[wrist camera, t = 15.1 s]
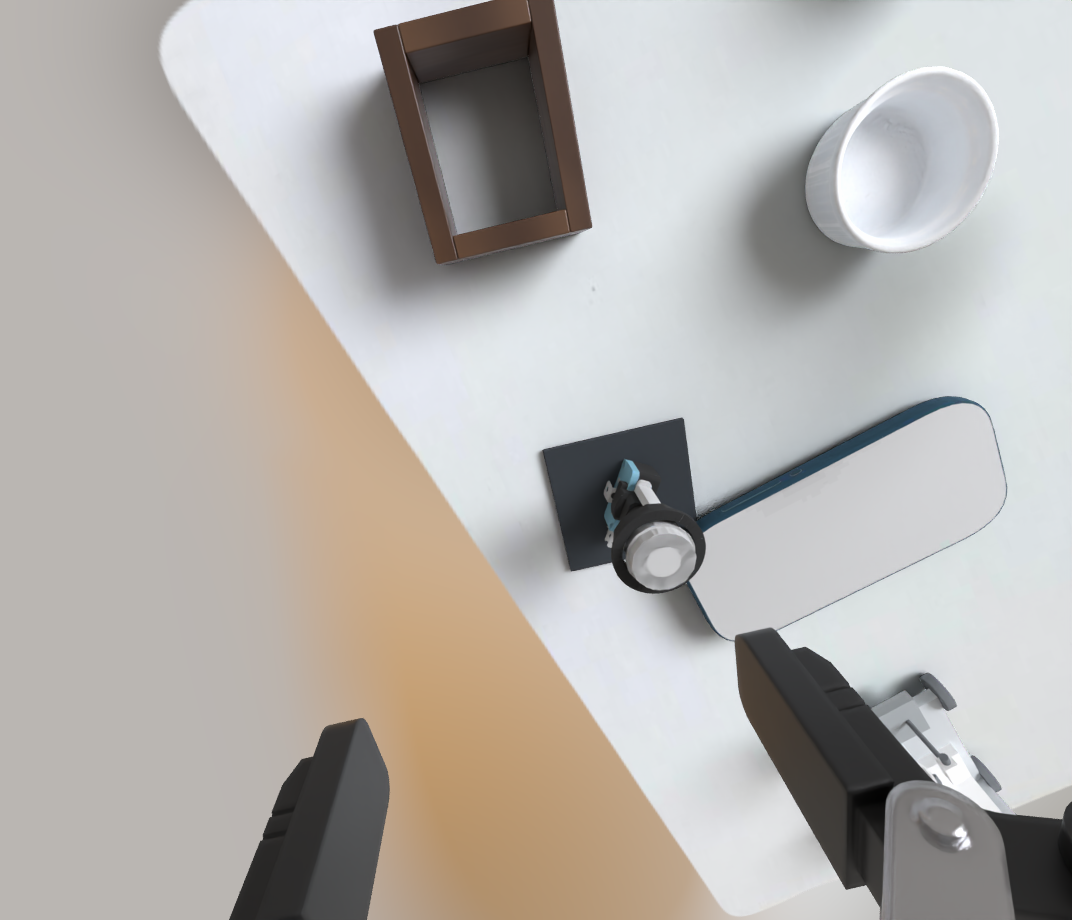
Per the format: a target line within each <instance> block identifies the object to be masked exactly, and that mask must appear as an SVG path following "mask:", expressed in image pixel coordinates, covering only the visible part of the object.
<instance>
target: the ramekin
mask: <svg viewBox="0 0 1072 920" xmlns="http://www.w3.org/2000/svg"><path fill="white" fill-rule="evenodd" d="M998 141H999V134H998V123H997V119H996V115H995V111H994V108H993V106H992V103H991V101H990V99H989V97H988V96H987V94H986V93H985V91H984V90H983V89H982V87H981V86H980V85H979V84H978V83H977V82H976V81H975V80H973V79H972V78H971V77H969V76H968V75H966V74H964V73H962V72H960V71H957V70H955V69H951V68H948V67H937V66H935V67H923V68H918V69H914V70H911V71H908V72H905V73H903V74H901V75H899V76H897V77H895V78H893V79H891V80H890V81H888V82H887V83H885V84H884V85H882V86H881V87H880V88H878V89H877V90H876V91H875V92H874V93H873V94H871V95H870V96H869V97H868V98H867V99H865V100H864V101H862V102H860V103H859V104H857V105H856V106H854V107H853V108H851V109H850V110H848V111H847V112H845V113H844V114H843V115H842V116H841V117H840V118H838V119H837V120H836V121H835V122H834V123H833V124H832V126H831V127H830V128H829V129H828V130H827V131H826V133H825V134H824V135H823V137H822V138H821V140H820V141H819V143H818V145H817V147H816V148H815V150H814V153H813V155H812V157H811V160H810V162H809V166H808V169H807V175H806V184H805V191H806V201H807V206H808V209H809V212H810V215H811V217H812V219H813V221H814V222H815V224H816V225H817V227H818V228H819V229H820V231H822V232H823V233H824V234H825V235H826V236H827V237H829V238H830V239H831V240H833V241H835V242H838V243H840V244H842V245H846V246H850V247H858V248H868V249H871V250H873V251H877V252H883V253H906V252H911V251H915V250H919V249H922V248H924V247H927V246H929V245H931V244H933V243H935V242H937V241H939V240H940V239H942V238H944V237H945V236H947V235H948V234H950V233H951V232H952V231H953V230H954V229H955V228H957V227H958V226H959V225H960V224H961V223H962V222H963V221H964V220H965V219H966V218H967V217H968V215H969V214H970V213H971V212H972V211H973V209H974V208H975V206H976V205H977V203H978V202H979V201H980V199H981V197H982V195H983V194H984V192H985V190H986V188H987V186H988V184H989V181H990V179H991V176H992V174H993V171H994V166H995V163H996V159H997V152H998Z"/></svg>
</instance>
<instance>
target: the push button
mask: <svg viewBox="0 0 1072 920" xmlns="http://www.w3.org/2000/svg"><path fill="white" fill-rule="evenodd" d="M660 483H661V477H660V476H659V474H658V473H657V472H656V470H655V469H654V468H653V466H650V465H646V464H642V463H638V462H635V461H630V460H626V459H624V460H623V463H622V465H621V469H620V472H619V475H618V478H617V480H616V483H615V486H614V488H613V487H612V485H611V483H610V481H608V482H607V484H606V487H605V490H604V496H605V498H606V500H607V502H608V505H607V508H606V511H605V514H604V518H605V520H606V523H607V525H608V526H607V527H608V532H607V535H606V537H605V541H608V544H607V546H608V547H610V548H611V559H612V563H613V566H614V569H615V572H616V573H617V575H618V577H619V578H620V579H621V580H622V581H623V582H624V583H625V584H626V585H627V586H629V587H630V588H632V589H634V590H637V591H640V592H644V593H652V594H653V593H664V592H668V591H672V590H674V589H677V588H679V587H681V586H682V585H684V584H685V583H687V582H688V581H689V580H690V579H691V578H692V577H693V576H694V575H695V574H696V573H697V572H698V570H699V569H700V567H701V565H702V563H703V560H704V557H705V552H706V542H705V537H704V534H703V532H702V530H701V528H700V527H699V525H698V524H697V523H696V522H695V521H694V519H693V518H691V517H690V516H689V515H687V514H686V513H684V512H682V511H679V510H676V509H673V508H671V507H669V506H667V505H665V504H663V503H661V502H660V501H659V499H658V498H657V496H656V493H657V490H658V488H659V485H660ZM607 488H608V491H607ZM676 522H677V523H680V524H682V525H683V526H685V527H686V531H687V532H686V531H684V530H683V529H681V528H680V527H679V526H678V524H677V523H676ZM610 534H611V536H610V537H609V535H610ZM611 542H612V543H611ZM623 550H624V552H625V554H626V562H625V561H624V560H623V556H622V555H623Z"/></svg>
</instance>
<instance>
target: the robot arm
mask: <svg viewBox="0 0 1072 920" xmlns="http://www.w3.org/2000/svg"><path fill="white" fill-rule="evenodd" d="M735 652H736V664H737V676H738V688H739V694H740V698H741V702H742V705H743V708H744V710H745V713H746V715H747V717H748V719H749V721H750V723H751V725H752V726H753V728H754V730H755V732H756V733H757V735H758V737H759V739H760V740H761V742H762V744H763V746H764V747H765V749H766V751H767V753H768V754H769V756H770V758H771V760H772V761H773V763H774V765H775V767H776V768H777V770H778V772H779V774H780V775H781V777H782V779H783V781H784V782H785V784H786V786H787V788H788V789H789V791H790V793H791V795H792V796H793V798H794V800H795V802H796V803H797V805H798V807H799V808H800V810H801V812H802V814H803V815H804V817H805V819H806V821H807V822H808V824H809V826H810V828H811V829H812V831H813V833H814V835H815V836H816V838H817V840H818V842H819V843H820V845H821V847H822V849H823V850H824V852H825V854H826V856H827V857H828V859H829V861H830V863H831V864H832V866H833V868H834V870H835V871H836V873H837V875H838V877H839V878H840V880H841V882H842V884H843V885H844V887H845V889H846V890H847V889H851V888H856V887H860V886H865V885H867V887H868V888H869V890H870V892H871V893H872V895H873V896H874V898H875V900H876V902H877V903H878V905H879V907H880V920H1072V802H1071V803H1070V804H1069V805H1068V806H1067V807H1066V809H1065V812H1064V816H1063V820H1062V819H1052V818H1042V817H1033V816H1022V815H1013V814H1004V813H998V812H993V811H989V810H985V809H982V808H981V807H980V806H979V805H978V804H976V803H975V802H974V801H972V800H971V799H970V798H968V797H967V796H965V795H963V794H962V793H960V792H958V791H956V790H954V789H952V788H950V787H947V786H944V785H942V784H939V783H936V782H935V781H933V780H932V779H931V778H930V777H929V776H928V774H927V773H926V772H925V771H924V770H923V769H922V768H921V767H920V765H919V764H918V763H917V762H916V761H915V760H914V758H913V757H912V756H911V755H910V754H909V753H908V752H907V750H906V749H905V748H904V747H903V746H902V745H901V743H900V742H899V741H898V740H897V739H896V738H895V736H894V735H893V734H892V733H891V732H890V731H889V729H888V728H887V727H886V726H885V725H884V724H883V723H882V721H881V720H880V719H879V718H878V717H877V716H876V714H875V713H874V712H873V711H872V710H871V709H870V707H869V706H868V705H865V704H864V700H863V699H862V698H861V697H860V696H859V695H858V693H857V692H856V691H855V690H854V689H853V688H852V687H851V688H850V686H849V683H848V682H847V681H846V680H845V678H844V677H843V676H842V675H841V674H840V673H839V671H838V670H837V669H836V668H835V667H834V666H833V664H832V663H831V662H829V661H828V660H826V659H824V658H823V657H821V656H820V655H818V654H816V653H815V652H813V651H812V650H810V649H808V648H807V647H802V648H798V649H794V650H791V649H790V648H789V647H788V645H787V644H786V643H785V642H784V640H783V639H782V638H781V637H780V635H779V634H778V633H777V632H776V630H774V629H773V628H771V627H769V628H764V629H760V630H755V631H751V632H747V633H742V634H738V635H736V636H735ZM389 791H390V788H389V777H388V771H387V768H386V765H385V763H384V761H383V758H382V756H381V754H380V751H379V749H378V746H377V744H376V742H375V740H374V737H373V735H372V733H371V730H370V728H369V725H368V723H367V722H366V720H365V719H363V718H360V719H355V720H351V721H346V722H342V723H337V724H333V725H329V726H326V727H325V728H324V730H323V732H322V734H321V736H320V739H319V742H318V745H317V747H316V750H315V753H314V756H313V757H309V758H305V759H302V760H301V761H300V762H299V764H298V765H297V766H296V768H295V769H294V770H293V772H292V773H291V774H290V776H289V777H288V778H287V780H286V781H285V782H284V784H283V785H282V787H281V790H280V793H279V795H278V798H277V800H276V803H275V805H274V808H273V810H272V817H270V818H269V820H268V823H267V826H266V828H265V831H264V833H263V840H262V841H260V843H259V846H258V849H257V851H256V853H255V856H254V858H253V861H252V863H251V866H250V868H249V871H248V874H247V876H246V878H245V881H244V884H243V886H242V889H241V891H240V894H239V896H238V899H237V901H236V904H235V906H234V909H233V911H232V914H231V916H230V919H229V920H367V916H368V910H369V905H370V900H371V895H372V889H373V884H374V878H375V873H376V867H377V862H378V856H379V851H380V846H381V841H382V835H383V830H384V824H385V819H386V814H387V808H388V802H389Z"/></svg>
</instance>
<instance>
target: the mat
mask: <svg viewBox="0 0 1072 920" xmlns="http://www.w3.org/2000/svg"><path fill="white" fill-rule="evenodd" d="M543 453H544V457H545V461H546V466H547V470H548V474H549V479H550V483H551V487H552V491H553V496H554V500H555V504H556V509H557V513H558V517H559V522H560V526H561V530H562V534H563V539H564V543H565V547H566V552H567V556H568V560H569V565H570V569H571V571H576V570H580V569H585V568H589V567H593V566H598V565H602V564H607V563H611V562H612V559H611V548H610V547H608V546H607V544H608V541H605V537H606V535H607V532H608V527H607V526H608V525H607V523H606V520H605V518H604V514H605V511H606V508H607V505H608V502H607V500H606V498H605V496H604V490H605V487H606V484H607V482H608V481H610V483H611V485H612V487H613V488H614V486H615V483H616V480H617V478H618V475H619V472H620V469H621V465H622V463H623V460H624V459H626V460H630V461H635V462H638V463H642V464H646V465H650V466H653V468H654V469H655V470H656V472H657V473H658V474H659V476H660V477H661V483H660V485H659V488H658V490H657V493H656V496H657V498H658V499H659V501H660V502H661V503H663V504H665V505H667V506H669V507H671V508H673V509H676V510H679V511H682V512H684V513H686V514H687V515H689V516H690V517H691V518H693V519H694V521H695V522H696V521H697V518H696V510H695V503H694V495H693V487H692V479H691V472H690V464H689V456H688V448H687V441H686V433H685V425H684V419H683V418H678V419H674V420H669V421H665V422H661V423H656V424H652V425H648V426H643V427H639V428H635V429H630V430H626V431H622V432H617V433H613V434H609V435H604V436H600V437H596V438H591V439H587V440H583V441H578V442H574V443H570V444H565V445H561V446H557V447H552V448H548V449H544V450H543ZM607 491H608V488H607ZM676 523H677V522H676ZM677 524H678V526H679V527H680V528H681V529H683V530H684V531H686V527H685V526H683V525H682V524H680V523H677ZM610 536H611V534H610V535H609V537H610ZM611 543H612V542H611ZM622 556H623V560H624V559H626V554H625V552H624V550H623V555H622Z"/></svg>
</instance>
